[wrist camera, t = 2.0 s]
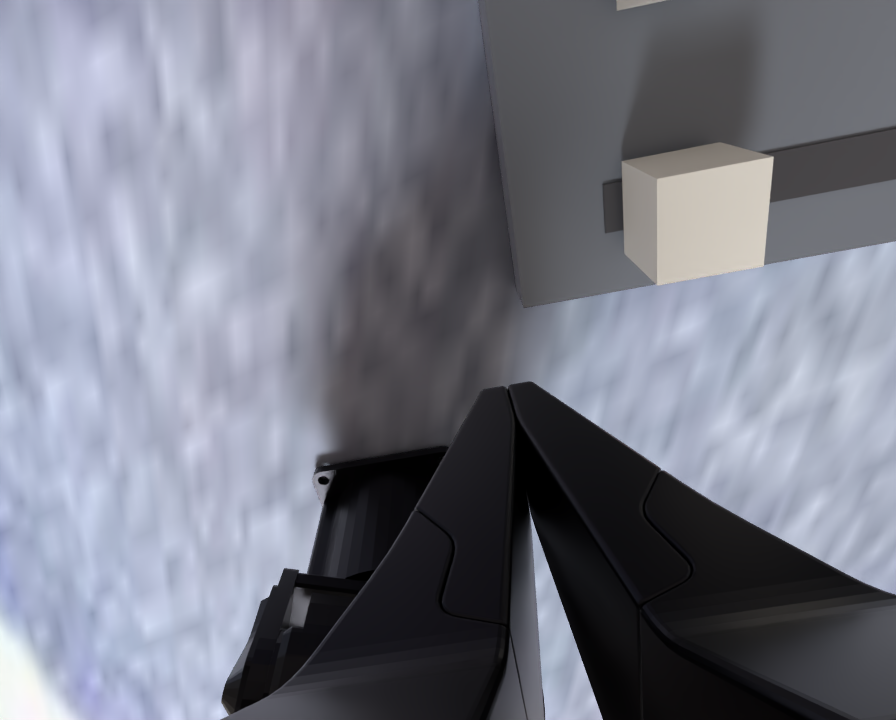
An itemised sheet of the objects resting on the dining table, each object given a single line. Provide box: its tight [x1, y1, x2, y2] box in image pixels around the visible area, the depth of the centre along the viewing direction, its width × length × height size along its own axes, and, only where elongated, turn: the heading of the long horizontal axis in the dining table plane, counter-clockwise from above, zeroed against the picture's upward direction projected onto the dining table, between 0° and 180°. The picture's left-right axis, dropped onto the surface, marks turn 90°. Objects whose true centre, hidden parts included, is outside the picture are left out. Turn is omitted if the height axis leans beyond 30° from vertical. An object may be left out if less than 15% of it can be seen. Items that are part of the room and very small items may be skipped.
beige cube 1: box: [622, 142, 774, 286], centre depth 16 cm, size 3×3×3 cm
